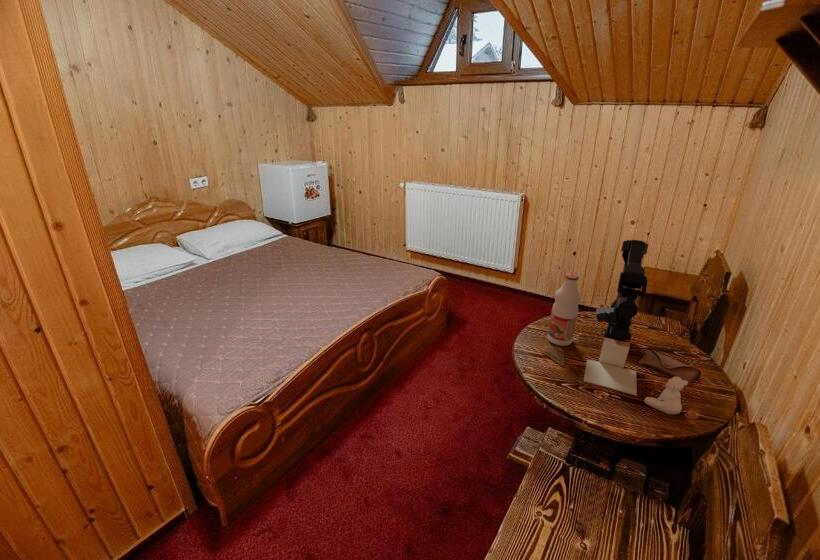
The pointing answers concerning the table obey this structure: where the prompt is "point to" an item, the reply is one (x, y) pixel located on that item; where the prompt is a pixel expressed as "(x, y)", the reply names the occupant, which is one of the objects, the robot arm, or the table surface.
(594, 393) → the table surface
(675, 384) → the sitting furry creature
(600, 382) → the felt mat
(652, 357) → the sunglasses case
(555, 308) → the fruit juice
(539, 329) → the table surface
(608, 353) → the glazed tile
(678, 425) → the table surface
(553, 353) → the shard
